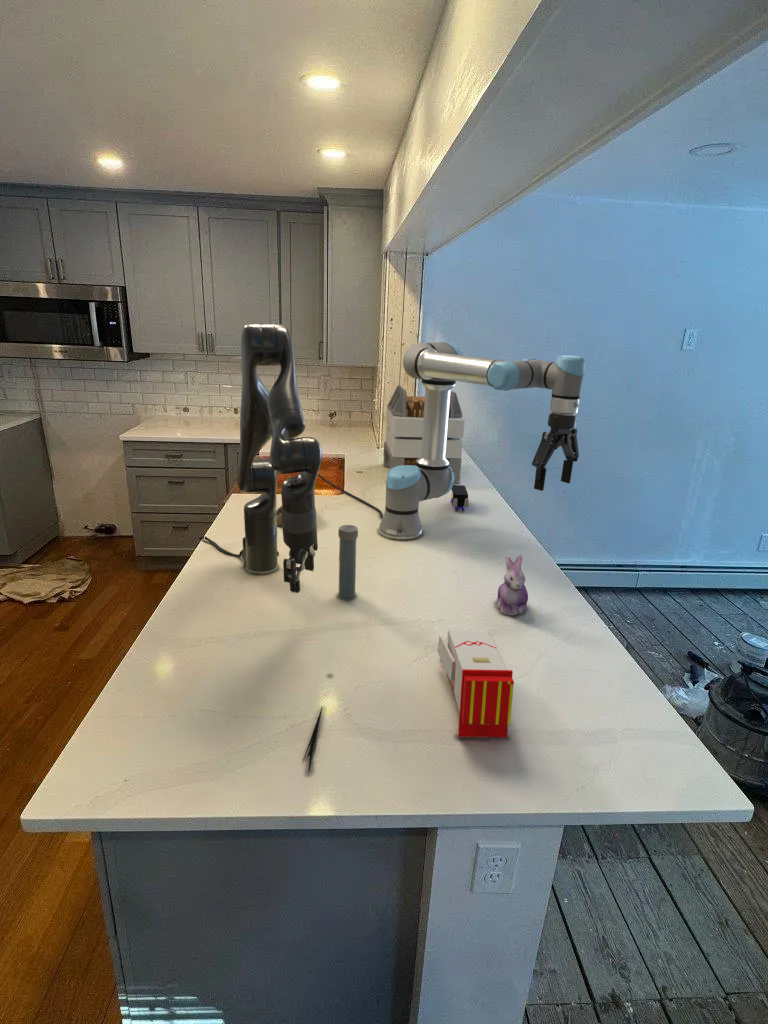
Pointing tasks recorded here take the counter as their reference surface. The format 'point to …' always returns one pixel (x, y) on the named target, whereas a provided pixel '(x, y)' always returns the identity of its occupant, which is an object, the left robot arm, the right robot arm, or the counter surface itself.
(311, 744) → the feather
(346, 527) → the lid
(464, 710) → the toy
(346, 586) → the bottle
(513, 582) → the figurine
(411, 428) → the white wooden crate
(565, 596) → the counter surface
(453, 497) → the figurine character
